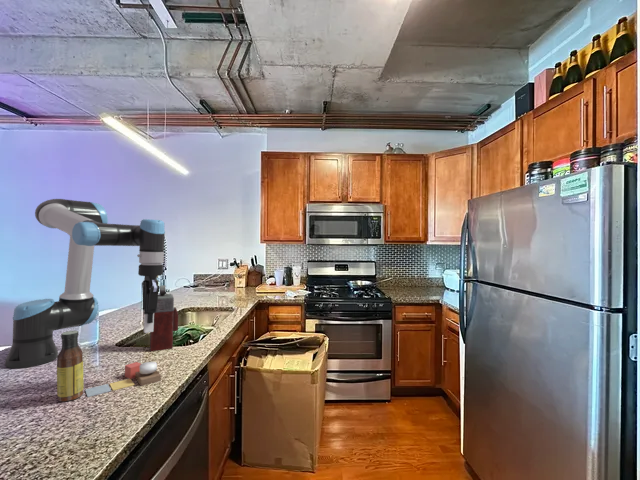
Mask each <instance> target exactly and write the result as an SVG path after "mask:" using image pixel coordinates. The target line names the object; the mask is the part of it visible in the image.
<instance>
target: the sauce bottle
mask: <svg viewBox="0 0 640 480" xmlns="http://www.w3.org/2000/svg"><path fill="white" fill-rule="evenodd" d="M78 337H79V330H68V331H64V332H62V333H61V334H60V339H61V349H60V351H59V352H58V357H57V358H56V393H57V400H58V401H59V402H64V403H65V402H70V401H75V400H76V399H78V398H79V399H80V397H82V396H83V394H84V383H85V382H84V360H83V359H84V358H83V356H84V355H83V350H82V349H81V348H80V345H79V342H78Z"/></svg>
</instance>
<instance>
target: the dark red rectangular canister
mask: <svg viewBox="0 0 640 480" xmlns="http://www.w3.org/2000/svg"><path fill="white" fill-rule="evenodd" d="M159 287H160V288H159V294H158V300H157V309H156V312H155V313H154V329H153V332H149V352H151V353H152V352H156V351H157V352H159V351H166V350H172V349H173V345H174V344H173V343H174V332H178V331H179V313H178V309H177V307H175V306H174V305H175V302H174V301H175V297H174V295H173V294H172V293H167V294H166V291H167V290H166V287H167V286H166V285H161V284H160V285H159Z"/></svg>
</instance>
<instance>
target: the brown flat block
mask: <svg viewBox="0 0 640 480" xmlns="http://www.w3.org/2000/svg"><path fill="white" fill-rule="evenodd" d="M134 379H135V380H136V381H137V383H139V385H140V386H141V387H142V386H146V385H150V384H154V383H157V382H162V375H161V373H160V372H159V371H158V370H156V371H155V372H153V373H149V374H141V373H140V371H139V372H135V378H134Z"/></svg>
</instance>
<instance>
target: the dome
mask: <svg viewBox="0 0 640 480" xmlns="http://www.w3.org/2000/svg"><path fill="white" fill-rule="evenodd" d="M157 364H158V363H157V362H156V361H146V362H143V363H141V365H140V373H141V374H149V373H153V372H155V371H156V370H157V369H158V365H157ZM157 371H158V370H157Z"/></svg>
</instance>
